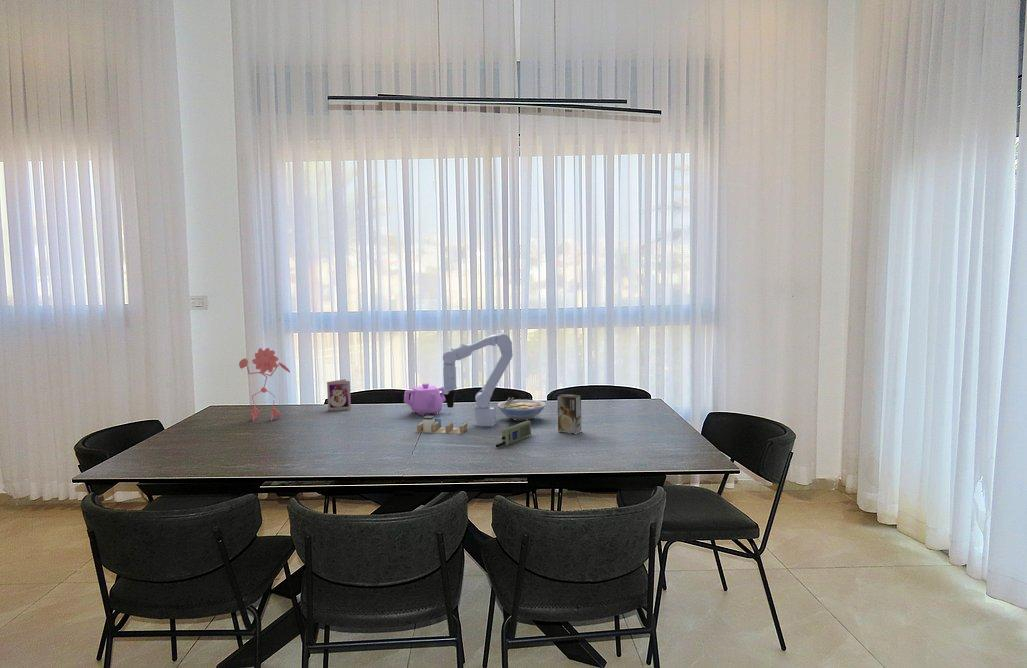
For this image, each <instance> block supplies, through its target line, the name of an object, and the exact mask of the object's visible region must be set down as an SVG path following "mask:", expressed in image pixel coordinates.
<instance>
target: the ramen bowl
mask: <svg viewBox="0 0 1027 668" xmlns="http://www.w3.org/2000/svg"><path fill="white" fill-rule="evenodd" d="M497 406H498V408H499V411H500V412H501V413H502V414H503V415H504V416H506V417H507V418H509V419H513V420H514V419H516V420H515V421H517V420H526V419H529V420H531V419H532V418H535V417H537V416H538V415H539V414H541V412H542V411H543V410H544V409H545V407H546V403H545V402H543V401H541V400H536V399H535V400H534V399H515V397H510V396H509V397H508V399H507V400H505V401H500V402H498V403H497ZM526 421H527V420H526Z"/></svg>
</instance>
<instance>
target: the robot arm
mask: <svg viewBox="0 0 1027 668" xmlns="http://www.w3.org/2000/svg"><path fill="white" fill-rule="evenodd" d="M496 345H497V347H498V348H499V353H500V354H501V355H500V357H499V358H498V360H497V363H495V365H494V368H493V369H492V371H491V372H490V375H489V377H488V378H487V380H486V382H485V384H484V385H483V386H482V388H481V389H480V390H479V391H478V392H477V393H476V394H475V397H474V399H475V405H474V425H475V426H476V427H494V426H496V424H497V409H496V408H495V407H492V406H491V405H490V403H491V398H492V397H493V393H494V390H495V389H496V387H497V385H498V383H499V382H500V380H501V378H502V376H503V374H504V372H506V369H507V368H508V365H509V363H510V362H511V361H512V358H513V355H514V354H513V342H512V340H511V337H510V336H509V335H508V334H507V333H505V332H501V331H499V332H498V333H495V334H491V335H489V336H486V337H483V338H482V339H480V340H477V341H475V342H474V343H471V344H469V343H461V344H460V345H459V346H457V347H454V348H453V347H452V348H450V350H446V351H444V353H443V355H442V360H443V365H442V366H443V368H442V369H443V370H442V372H443V374H442V376H443V378H442V379H443V386H441V389H443V395H444V397H445V399H446V400H445V402H446V405H447V408H450V409H451V408H454V404H455V400H456V395H458V394H457V393H458V391H457V388H458V387H457V367H456V361H460V360H463V359H466V358H468V357H470V356H471V355H473V352H475V351H478V350H480V349H482V348H484V347H485V348H486V347H487V346H493V347H496Z"/></svg>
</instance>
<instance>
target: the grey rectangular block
mask: <svg viewBox="0 0 1027 668" xmlns="http://www.w3.org/2000/svg"><path fill="white" fill-rule="evenodd" d="M435 418H436V417H435V416H434V415H424V416H423V417H422V419H423V420H422V422H423V431H431V426H432V425H433V424H434V423H435Z"/></svg>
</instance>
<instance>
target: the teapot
mask: <svg viewBox="0 0 1027 668" xmlns="http://www.w3.org/2000/svg"><path fill="white" fill-rule="evenodd" d="M441 387H442V386H441ZM441 387H437V386H434V385H430V383H427V382H426V383H425V382H424V383H422V384H421V386H414V387H412V389H407V390H405V391H404V395H403V403H405V404H406V405H408V406H409V407H410V409H411V410H412V411H413V413H414V412H416V413H415V414H418V415H424V416H426V415H425V414H430V413H432V415H438V414H439V413H440V412H441V411H442V410H443V409H442V408H443V403H444V402H446V399H445V397H444V395H443V389H441ZM437 413H438V414H437Z"/></svg>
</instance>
